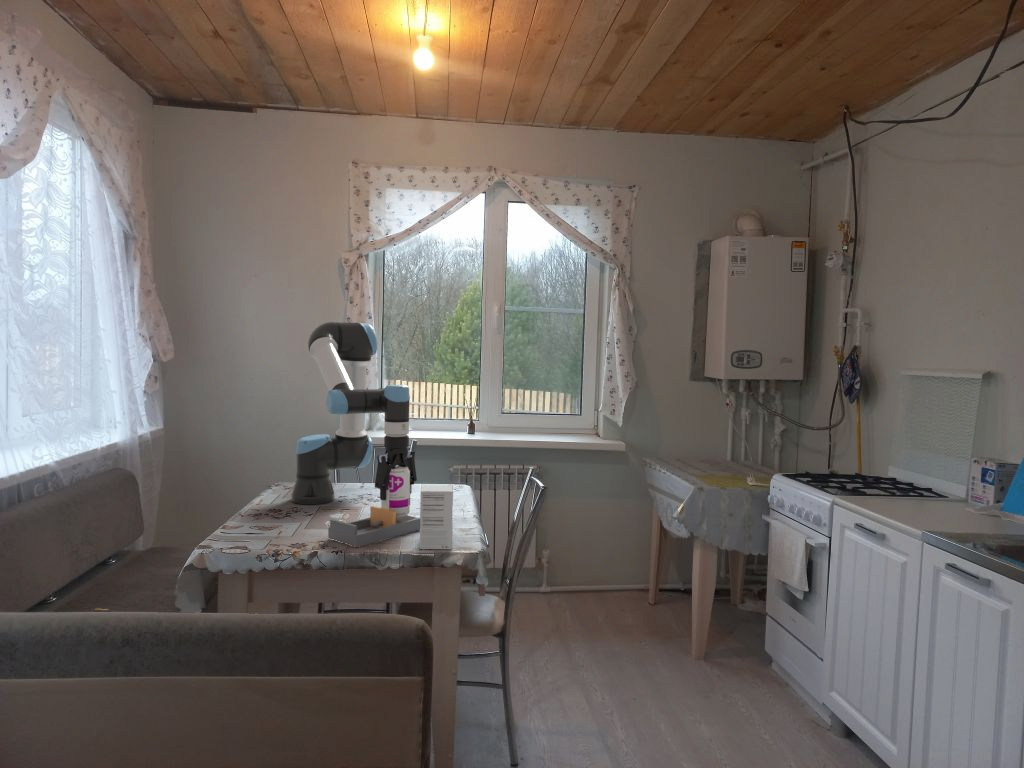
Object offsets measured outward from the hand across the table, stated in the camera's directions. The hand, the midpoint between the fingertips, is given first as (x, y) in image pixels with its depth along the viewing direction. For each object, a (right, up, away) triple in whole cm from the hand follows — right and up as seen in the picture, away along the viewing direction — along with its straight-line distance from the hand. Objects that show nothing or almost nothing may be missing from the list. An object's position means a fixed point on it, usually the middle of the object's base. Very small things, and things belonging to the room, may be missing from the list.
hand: (395, 507), depth 212 cm
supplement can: (0, -2, 0) cm, 2 cm away
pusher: (-4, -6, -5) cm, 9 cm away
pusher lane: (-5, -7, -6) cm, 10 cm away
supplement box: (+14, -8, -15) cm, 22 cm away
